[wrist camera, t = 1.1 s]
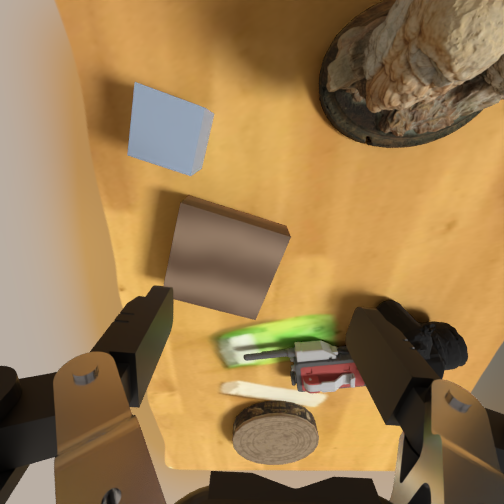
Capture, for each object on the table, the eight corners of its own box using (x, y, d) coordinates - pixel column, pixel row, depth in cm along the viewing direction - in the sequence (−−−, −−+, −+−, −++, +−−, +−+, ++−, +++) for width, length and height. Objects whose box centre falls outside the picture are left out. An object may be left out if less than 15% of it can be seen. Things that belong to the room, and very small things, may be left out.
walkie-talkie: (374, 331, 36) (242, 345, 38) (389, 355, 32) (241, 370, 34) (370, 370, 40) (251, 381, 41) (383, 396, 36) (251, 408, 37)
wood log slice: (274, 455, 52) (276, 473, 49) (216, 426, 47) (214, 444, 45) (331, 422, 47) (336, 440, 44) (273, 386, 42) (274, 404, 40)
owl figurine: (305, 154, 26) (383, 175, 10) (308, 8, 21) (467, -369, 5) (477, 141, 25) (831, 143, 10) (522, -12, 20) (1384, -497, 5)
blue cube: (159, 93, 23) (134, 81, 18) (214, 113, 24) (204, 107, 19) (151, 151, 26) (127, 155, 21) (201, 168, 26) (190, 176, 21)
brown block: (189, 194, 28) (180, 202, 24) (286, 224, 30) (290, 237, 26) (171, 278, 33) (161, 296, 29) (255, 300, 34) (255, 319, 31)
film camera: (422, 363, 40) (469, 422, 32) (364, 371, 40) (396, 432, 32) (443, 288, 33) (509, 337, 25) (372, 297, 33) (416, 350, 25)
